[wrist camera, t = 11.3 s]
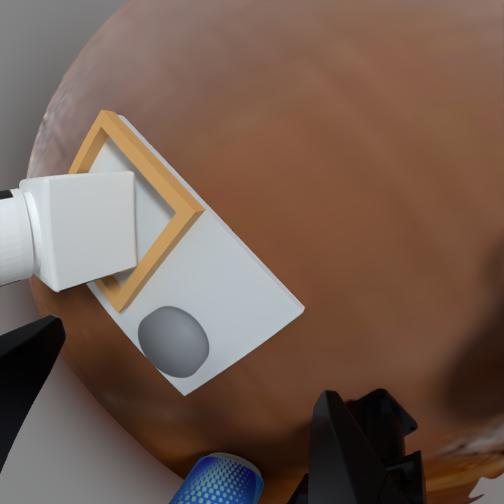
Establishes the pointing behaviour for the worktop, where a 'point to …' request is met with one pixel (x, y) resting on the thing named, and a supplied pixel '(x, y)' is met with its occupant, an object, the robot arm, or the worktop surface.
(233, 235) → the plate with orange frame
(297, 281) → the worktop surface
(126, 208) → the medicine bottle
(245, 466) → the beer can
